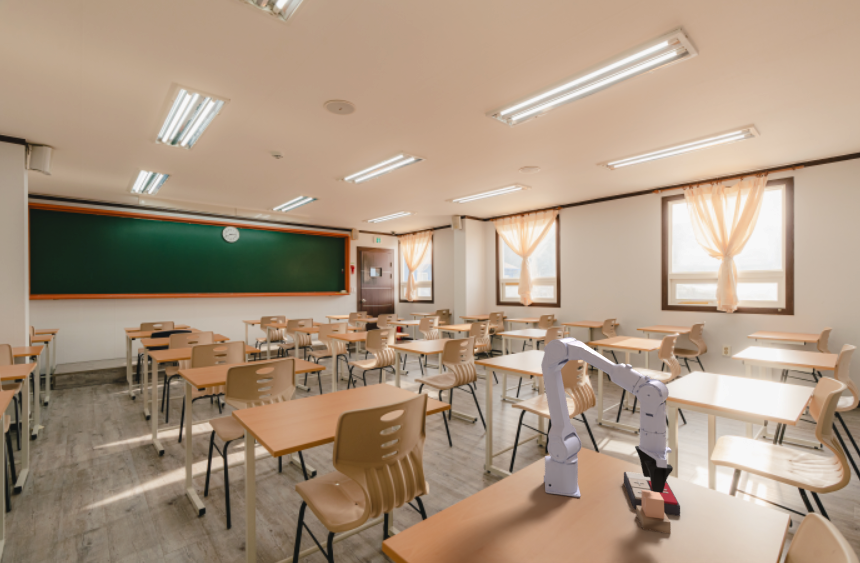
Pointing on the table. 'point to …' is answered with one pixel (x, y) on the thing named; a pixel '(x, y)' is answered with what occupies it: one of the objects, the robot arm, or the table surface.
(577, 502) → the table surface
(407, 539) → the table surface
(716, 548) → the table surface
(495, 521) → the table surface
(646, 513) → the terracotta block
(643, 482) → the calculator
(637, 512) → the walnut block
